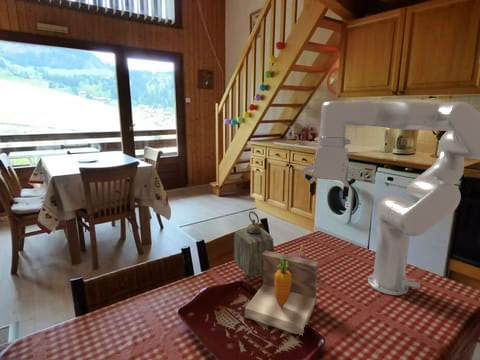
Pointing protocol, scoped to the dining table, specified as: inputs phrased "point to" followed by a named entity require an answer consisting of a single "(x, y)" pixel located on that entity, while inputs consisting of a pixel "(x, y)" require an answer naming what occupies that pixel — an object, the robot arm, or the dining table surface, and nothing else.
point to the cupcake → (298, 254)
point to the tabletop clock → (251, 248)
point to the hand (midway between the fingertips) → (328, 196)
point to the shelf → (299, 298)
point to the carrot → (282, 283)
